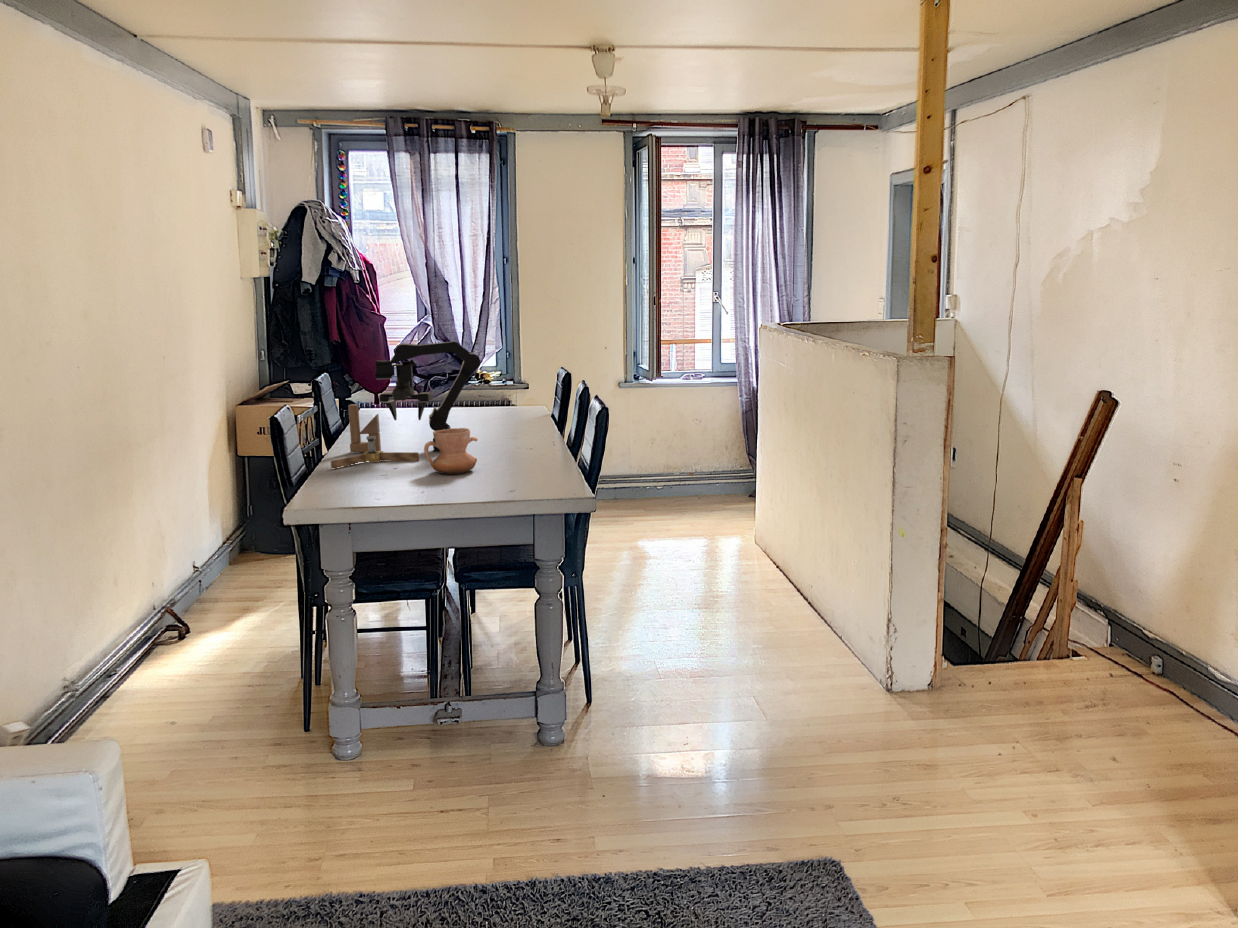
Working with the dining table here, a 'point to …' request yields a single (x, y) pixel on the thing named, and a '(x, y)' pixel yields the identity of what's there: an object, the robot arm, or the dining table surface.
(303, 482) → the dining table surface
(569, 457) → the dining table surface
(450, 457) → the ceramic jug
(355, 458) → the tan piece
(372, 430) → the wooden block
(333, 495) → the dining table surface
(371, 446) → the hinge pin
